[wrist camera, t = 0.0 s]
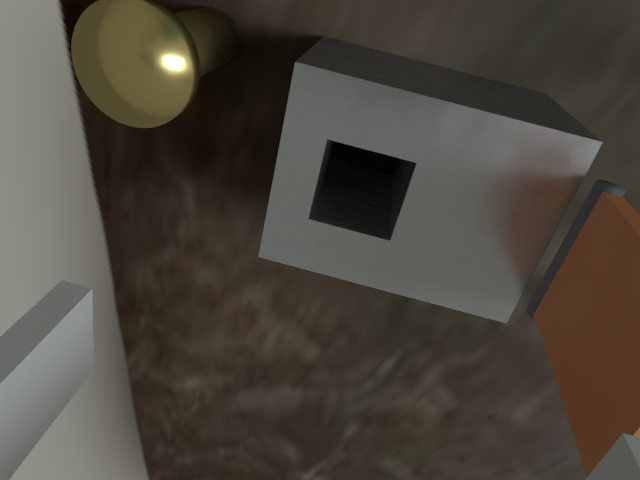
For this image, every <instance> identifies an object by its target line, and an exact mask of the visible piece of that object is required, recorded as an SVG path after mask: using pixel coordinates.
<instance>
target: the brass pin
mask: <svg viewBox="0 0 640 480" xmlns="http://www.w3.org/2000/svg"><path fill="white" fill-rule="evenodd" d="M237 46H238V35H237V30H236V28H235V25H234V23H233V22H232V20H231V19H230V18H229V17H228V15H226V14H225V13H224V12H223V11H221V10H219V9H216V8H213V7H203V8H198V9H192V10H187V11H182V12H177V13H173V12H172V11H171V10H170V9H168V8H167V7H166V6H164V5H162V4H161V3H159V2H157V1H155V0H99V1H97V2H94V3H93V4H92V5H90V6H89V7H88V8H87V9H86V10H85V11H84V12H83V13H82V15H81V16H80V17H79V19H78V21H77V23H76V25H75V28H74V31H73V35H72V42H71V53H72V61H73V66H74V70H75V73H76V76H77V78H78V80H79V82H80V84H81V86H82V88H83V90H84V91H85V93H86V94H87V96H88V97H89V99H90V100H91V101H92V102H93V103H94V104H95V105H96V106H97V107H98V108H99V109H100V110H101V111H102V112H104V113H105V114H106V115H107V116H109V117H111V118H112V119H114V120H116V121H118V122H120V123H122V124H125V125H128V126H132V127H137V128H152V127H157V126H160V125H163V124H165V123H167V122H169V121H170V120H172V119H174V118H175V117H177V116H178V115H180V114H181V113H182V112H183V111H185V110H186V109H187V108H188V106H189V105H190V104H191V102H192V101H193V99H194V97H195V95H196V93H197V90H198V87H199V82H200V77H202V76H203V75H205V74H207V73H209V72H211V71H213V70H215V69H216V68H218V67H220V66H222V65H224V64H226V63H227V62H229V61H230V60H231V59H232V58H233V56H234V55H235V52H236V50H237Z"/></svg>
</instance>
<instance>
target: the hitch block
mask: <svg viewBox="0 0 640 480" xmlns="http://www.w3.org/2000/svg"><path fill="white" fill-rule="evenodd" d="M335 142H339V143H343V144H347V145H350V146H354V147H358V148H362V149H366V150H369V151H373V152H377V153H381V154H385V155H388V156H392V157H396V158H398V159H397V162H396V165H395V168H394V171H393V174H391V173H388V172H384V171H380V170H376V169H372V168H369V167H365V166H361V165H357V164H354V163H350V162H346V161H342V160H338V159H335V158H331V156H332V152H333V148H334V143H335ZM602 143H603V142H602V141H601V140H600V139H599V138H597V137H596V136H595V135H594V134H593V133H592V132H590V131H589V130H588V129H587V128H586V127H585V126H583V125H582V124H581V123H580V122H579V121H577V120H576V119H575V118H574V117H573V116H572V115H570V114H569V113H568V112H567V111H566V110H565V109H563V108H562V107H561V106H560V105H559V104H558V103H556V102H555V101H554V100H553V99H552V98H551V97H549V96H548V95H547V94H544V93H540V92H537V91H533V90H529V89H525V88H521V87H517V86H513V85H510V84H506V83H502V82H498V81H494V80H490V79H486V78H483V77H479V76H475V75H471V74H467V73H463V72H460V71H456V70H452V69H448V68H444V67H440V66H436V65H433V64H429V63H425V62H421V61H417V60H413V59H409V58H406V57H402V56H398V55H394V54H390V53H386V52H383V51H379V50H375V49H371V48H367V47H363V46H359V45H356V44H352V43H348V42H344V41H340V40H336V39H332V38H329V37H325V36H324V37H323V38H322V39H320V40H319V41H318V42H317V43H316V44H315V45H314V46H312V47H311V48H310V49H309V50H308V51H307V52H306V53H304V54H303V55H302V56H301V57H300V58H299V59H298V60H296V61H295V64H294V70H293V75H292V80H291V86H290V91H289V96H288V102H287V107H286V113H285V118H284V123H283V129H282V134H281V139H280V145H279V150H278V155H277V161H276V166H275V171H274V177H273V182H272V187H271V193H270V198H269V203H268V209H267V214H266V219H265V225H264V230H263V235H262V241H261V246H260V251H259V257H261V258H264V259H268V260H272V261H276V262H279V263H283V264H287V265H291V266H294V267H298V268H302V269H306V270H309V271H313V272H317V273H320V274H324V275H328V276H332V277H335V278H339V279H343V280H347V281H350V282H354V283H358V284H362V285H365V286H369V287H373V288H376V289H380V290H384V291H388V292H391V293H395V294H399V295H403V296H406V297H410V298H414V299H418V300H421V301H425V302H429V303H432V304H436V305H440V306H444V307H447V308H451V309H455V310H459V311H462V312H466V313H470V314H474V315H477V316H481V317H485V318H488V319H492V320H496V321H500V322H503V323H507V321H508V319H509V318H510V316H511V314H512V312H513V310H514V308H515V306H516V304H517V302H518V301H519V299H520V297H521V295H522V293H523V291H524V289H525V287H526V286H527V284H528V282H529V280H530V278H531V276H532V274H533V272H534V271H535V269H536V267H537V265H538V263H539V261H540V259H541V257H542V255H543V254H544V252H545V250H546V248H547V246H548V244H549V242H550V240H551V239H552V237H553V235H554V233H555V231H556V229H557V227H558V225H559V224H560V222H561V220H562V218H563V216H564V214H565V212H566V210H567V208H568V207H569V205H570V203H571V201H572V199H573V197H574V195H575V193H576V192H577V190H578V188H579V186H580V184H581V182H582V180H583V178H584V177H585V175H586V173H587V171H588V169H589V167H590V165H591V163H592V161H593V160H594V158H595V156H596V154H597V152H598V150H599V148H600V146H601V145H602Z"/></svg>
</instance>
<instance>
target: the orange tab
mask: <svg viewBox="0 0 640 480" xmlns="http://www.w3.org/2000/svg"><path fill="white" fill-rule="evenodd" d="M624 193H625V190H624V189H623V188H621V187H620V186H618V185H616V184H613V183H611V182H608V181H604V180H597V181H596V182H595V184H594V186H593V188H592V190H591V191H590V193H589V195H588V197H587V199H586V201H585V202H584V204H583V206H582V208H581V210H580V212H579V213H578V215H577V217H576V219H575V221H574V223H573V224H572V226H571V228H570V230H569V232H568V233H567V235H566V237H565V239H564V241H563V243H562V244H561V246H560V248H559V250H558V252H557V254H556V255H555V257H554V259H553V261H552V263H551V265H550V266H549V268H548V270H547V272H546V274H545V275H544V277H543V279H542V281H541V283H540V285H539V286H538V288H537V290H536V292H535V294H534V296H533V297H532V299H531V301H530V303H529V305H528V307H527V308H526V311H527V313H528V314H529V315H530V316H531V317H533V318H534V319H535V322H536V325H537V328H538V331H539V334H540V337H541V340H542V343H543V346H544V349H545V352H546V355H547V358H548V361H549V364H550V367H551V370H552V373H553V376H554V379H555V382H556V385H557V388H558V391H559V394H560V397H561V400H562V403H563V406H564V409H565V412H566V415H567V418H568V421H569V424H570V427H571V430H572V433H573V436H574V439H575V442H576V445H577V448H578V451H579V454H580V457H581V460H582V463H583V466H584V469H585V472H586V475H587V477H588V476H589V475H590V473H591V472H592V471H593V470H594V468H595V467H596V466H597V465H598V463H599V462H600V461H601V460H602V458H603V457H604V456H605V455H606V454H607V452H608V451H609V450H610V449H611V447H612V446H613V445H614V444H615V442H616V441H617V440H618V439H619V437H620V436H621V435H622V434H623V433H624V434H628V435H632V436H635V437H639V438H640V215H639V214H638V213H637V212H636V211H635V210H634V209H633V208H632V207H631V206H630V204H629V203H628V202H627V201H626V200H625V199H624V198H623V197H622V196H623V195H624Z"/></svg>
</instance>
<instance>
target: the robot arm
mask: <svg viewBox="0 0 640 480" xmlns="http://www.w3.org/2000/svg"><path fill="white" fill-rule="evenodd" d="M92 301H93V299H92V288H89V287H85V286H81V285H77V284H74V283H70V282H67V281H63V280H62V281H61V282H60V283H58V284H57V285H56V286H55V287H54V288H53V289H52V290H51V291H50V292H49V293H48V294H46V296H44V297H43V298H42V299H41V300H40V301H39V302H38V303H37V304H36V305H34V306H33V307H32V308H31V309H30V310H29V311H28V312H27V313H26V314H25V315H24V316H22V317H21V318H20V319H19V320H18V321H17V322H16V323H15V324H14V325H13V326H12V327H11V328H9V329H8V330H7V331H6V332H5V333H4V334H3V335H2V336H1V337H0V480H9V479H10V478H11V476H12V475H13V474H14V472H15V471H16V470H17V469H18V467H19V466H20V465H21V463H22V462H23V461H24V459H25V458H26V457H27V456H28V454H29V453H30V452H31V450H32V449H33V448H34V446H35V445H36V444H37V443H38V441H39V440H40V439H41V437H42V436H43V435H44V433H45V432H46V431H47V430H48V428H49V427H50V426H51V424H52V423H53V422H54V420H55V419H56V418H57V416H58V415H59V414H60V413H61V411H62V410H63V409H64V407H65V406H66V405H67V403H68V402H69V401H70V399H71V398H72V397H73V395H74V394H75V393H76V392H77V390H78V389H79V388H80V386H81V385H82V384H83V382H84V381H85V380H86V379H87V377H88V376H89V374H91V372H92V371H93V303H92ZM586 480H640V438H639V437H635V436H632V435H628V434H624V433H623V434H622V435H621V436H620V437H619V439H618V440H617V441H616V442H615V444H614V445H613V446H612V447H611V449H610V450H609V451H608V452H607V454H606V455H605V456H604V457H603V458H602V460H601V461H600V462H599V463H598V465H597V466H596V467H595V468H594V470H593V471H592V472H591V473H590V475H589V476H588V477H587V478H586Z"/></svg>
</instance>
